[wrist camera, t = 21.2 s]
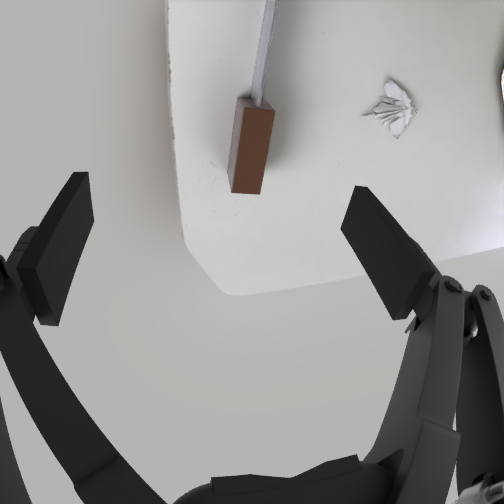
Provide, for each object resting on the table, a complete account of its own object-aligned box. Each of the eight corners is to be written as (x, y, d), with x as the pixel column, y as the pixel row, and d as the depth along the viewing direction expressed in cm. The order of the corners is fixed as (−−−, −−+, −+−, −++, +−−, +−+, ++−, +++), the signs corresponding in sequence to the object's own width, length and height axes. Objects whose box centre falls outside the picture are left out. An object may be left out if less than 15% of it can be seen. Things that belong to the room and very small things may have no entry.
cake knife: (252, 174, 37) (260, 194, 33) (227, 172, 36) (231, 193, 32) (290, -40, 21) (305, -51, 17) (261, -46, 21) (271, -58, 17)
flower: (360, 142, 37) (367, 150, 35) (350, 82, 32) (356, 87, 30) (414, 132, 36) (423, 141, 34) (408, 74, 30) (417, 79, 28)
